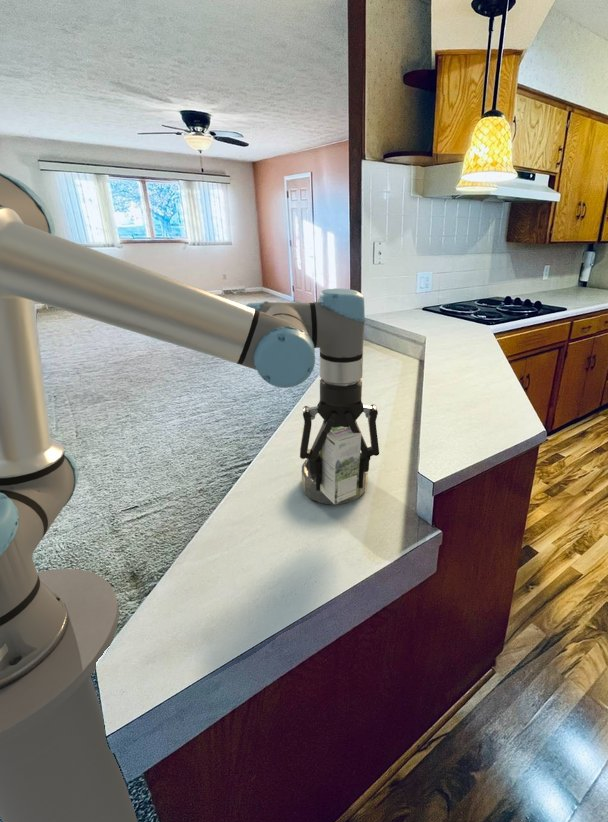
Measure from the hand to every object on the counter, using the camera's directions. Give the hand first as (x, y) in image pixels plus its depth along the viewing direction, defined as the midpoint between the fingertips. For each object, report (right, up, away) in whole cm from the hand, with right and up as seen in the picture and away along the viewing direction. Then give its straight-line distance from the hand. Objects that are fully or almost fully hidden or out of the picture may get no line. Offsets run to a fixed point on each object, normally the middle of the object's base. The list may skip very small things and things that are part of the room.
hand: (339, 485), depth 81 cm
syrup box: (0, -2, +1) cm, 2 cm away
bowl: (-3, -4, +16) cm, 17 cm away
